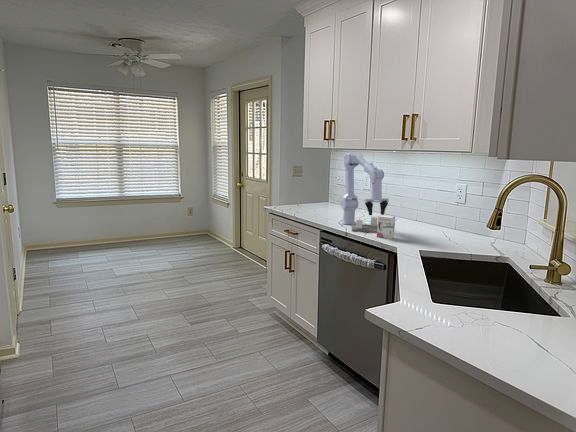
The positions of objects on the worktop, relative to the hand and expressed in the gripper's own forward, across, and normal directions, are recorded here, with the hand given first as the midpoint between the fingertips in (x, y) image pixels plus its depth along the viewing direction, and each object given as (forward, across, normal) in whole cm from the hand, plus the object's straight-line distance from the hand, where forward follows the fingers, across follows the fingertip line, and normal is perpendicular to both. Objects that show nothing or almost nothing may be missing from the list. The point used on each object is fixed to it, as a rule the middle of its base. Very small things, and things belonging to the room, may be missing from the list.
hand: (376, 214), depth 230 cm
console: (+9, +1, +10) cm, 14 cm away
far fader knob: (+8, +6, +13) cm, 16 cm away
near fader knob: (+8, -6, +9) cm, 14 cm away
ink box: (+12, 0, -10) cm, 15 cm away
